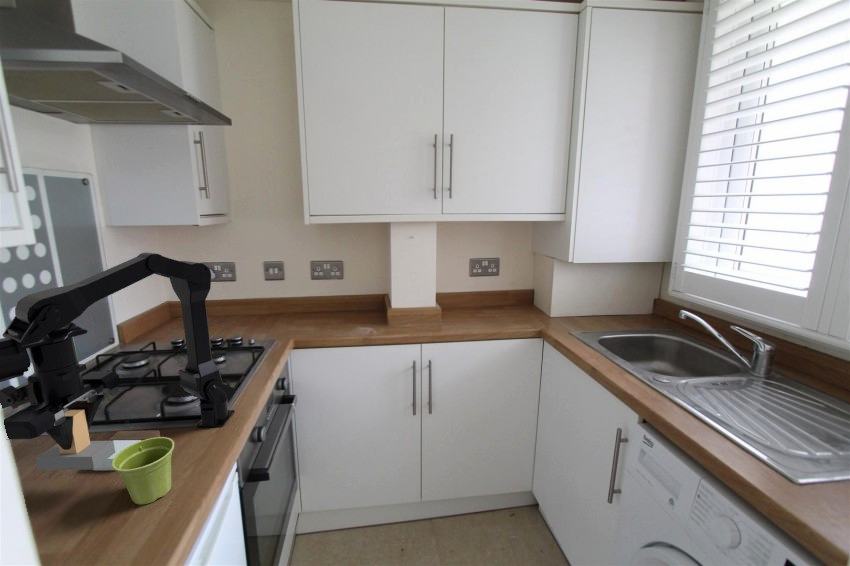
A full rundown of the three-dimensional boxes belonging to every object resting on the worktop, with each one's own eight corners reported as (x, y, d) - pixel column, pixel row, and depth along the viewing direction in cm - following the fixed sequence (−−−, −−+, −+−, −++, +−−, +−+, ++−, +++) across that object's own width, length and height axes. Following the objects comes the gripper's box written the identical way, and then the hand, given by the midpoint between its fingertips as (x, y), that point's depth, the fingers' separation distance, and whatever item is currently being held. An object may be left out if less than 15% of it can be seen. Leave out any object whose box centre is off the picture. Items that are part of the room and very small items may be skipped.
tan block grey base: (62, 453, 75) (53, 407, 73) (115, 452, 75) (107, 406, 73) (37, 470, 70) (27, 421, 68) (94, 469, 70) (85, 420, 69)
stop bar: (121, 440, 89) (119, 431, 88) (161, 440, 89) (159, 430, 88) (110, 449, 86) (108, 439, 85) (152, 448, 86) (150, 438, 85)
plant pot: (109, 516, 68) (99, 473, 66) (137, 478, 77) (129, 439, 75) (168, 508, 70) (160, 466, 68) (189, 472, 79) (182, 434, 77)
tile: (116, 452, 85) (113, 440, 85) (143, 452, 85) (141, 440, 85) (93, 471, 80) (90, 458, 79) (123, 471, 80) (120, 458, 79)
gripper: (57, 344, 77) (74, 415, 81) (-53, 391, 59) (-26, 480, 63) (114, 344, 78) (128, 414, 81) (21, 390, 59) (45, 479, 63)
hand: (75, 443), depth 72 cm, fingers closed on tan block grey base, 3 cm apart
